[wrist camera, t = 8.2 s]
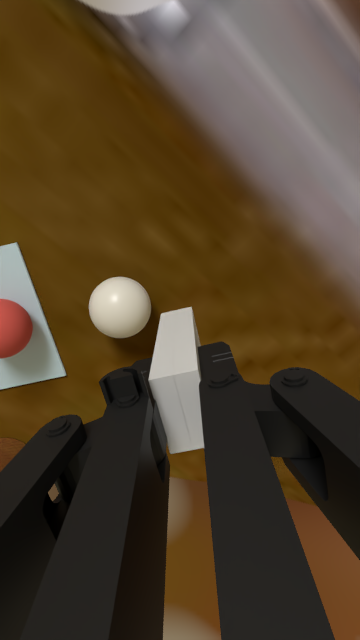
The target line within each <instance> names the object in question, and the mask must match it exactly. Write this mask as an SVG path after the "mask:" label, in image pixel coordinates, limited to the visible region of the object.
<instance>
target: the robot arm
mask: <svg viewBox="0 0 360 640" xmlns="http://www.w3.org/2000/svg"><path fill="white" fill-rule="evenodd" d="M99 384H100V386H101V389H102V392H103V395H104V398H105V401H106V403H107V407H106V410H105V413H104V415H103V417H101V418H99V419H97V420H94V421H92V422H89V423H87V424H84V425H83V423H82V420H81V418H80V417H79V416H77V415H66V416H60V417H59V418H58V417H57V418H55V419H53V420H52V421H51V422H49V423H47V424H46V425H45V426H43V427H42V428H41V429H40V430H39V431H38V432H37V433H36V434H35V435H34V436H33V437H32V438H31V440H30V441H29V442H28V443H27V444H26V445H25V446H24V447H23V448H22V449H21V450H20V451H19V452H18V453H17V455H16V456H15V457H14V458H13V459H12V460H11V461H10V462H9V463H8V464H7V465H6V466H5V467H4V468H3V470H2V471H1V472H0V640H163V617H164V594H165V570H166V568H165V567H166V544H167V522H168V520H167V519H168V498H169V474H170V464H169V460H168V457H167V453H166V443H167V444H168V448H169V451H170V454H173V453H178V452H183V451H189V450H194V449H199V448H204V451H205V462H206V473H207V484H208V495H209V506H210V517H211V528H212V539H213V551H214V562H215V572H216V584H217V595H218V605H219V616H220V628H221V639H222V640H335V638H334V636H333V633H332V630H331V627H330V624H329V622H328V619H327V616H326V613H325V610H324V607H323V604H322V602H321V599H320V596H319V593H318V590H317V587H316V584H315V582H314V579H313V576H312V573H311V570H310V567H309V565H308V562H307V559H306V556H305V553H304V550H303V548H302V545H301V542H300V539H299V536H298V533H297V531H296V528H295V525H294V522H293V519H292V517H291V514H290V511H289V508H288V505H287V502H286V499H285V497H284V494H283V491H282V488H281V485H280V482H279V480H278V477H277V474H276V471H275V468H274V465H273V463H272V460H271V457H282V459H283V461H284V463H285V465H286V466H287V468H288V469H289V470H290V471H291V473H292V474H293V475H294V477H295V478H296V479H297V480H298V482H299V483H300V484H301V486H302V487H303V488H304V489H305V491H306V492H307V493H308V495H309V496H310V497H311V498H312V500H313V501H314V502H315V503H316V505H317V506H318V507H319V508H320V510H321V511H322V512H323V514H324V515H325V516H326V518H327V519H328V520H329V521H330V523H331V524H332V525H333V526H334V528H335V529H336V530H337V532H338V533H339V534H340V535H341V537H342V538H343V539H344V541H345V542H346V543H347V544H348V546H349V547H350V548H351V549H352V551H353V552H354V553H355V555H356V556H357V557H358V558H359V560H360V401H358V400H357V399H355V398H354V397H352V396H351V395H349V394H348V393H346V392H345V391H343V390H342V389H340V388H339V387H337V386H336V385H334V384H333V383H331V382H330V381H328V380H327V379H325V378H324V377H322V376H321V375H319V374H318V373H316V372H314V371H312V370H310V369H305V368H299V367H295V368H294V367H293V368H288V369H284V370H281V371H279V372H277V373H275V374H274V375H273V376H272V377H271V378H270V385H259V384H251V383H248V382H246V381H244V380H243V378H242V376H241V375H240V374H239V373H238V370H237V367H236V364H235V361H234V358H233V355H232V353H231V350H230V347H229V345H227V344H226V343H224V342H218V343H213V344H208V345H204V346H201V345H200V341H199V337H198V332H197V328H196V324H195V319H194V315H193V311H192V307H188V308H184V309H179V310H175V311H170V312H166V313H162V314H161V317H160V322H159V328H158V333H157V338H156V343H155V348H154V354H153V357H152V358H148V359H143V360H138V361H136V362H135V363H134V364H133V365H132V366H131V367H123V368H120V369H117V370H114V371H112V372H110V373H108V374H107V375H105V376H104V377H103V378H102V379H101V380H100V381H99ZM270 456H271V457H270ZM54 483H55V485H56V487H57V490H58V492H59V494H58V496H57V497H56V499H55V500H54V501H52V500H51V499H50V497H49V495H48V491H49V490H50V489H51V487H52V486H53V484H54Z"/></svg>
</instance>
